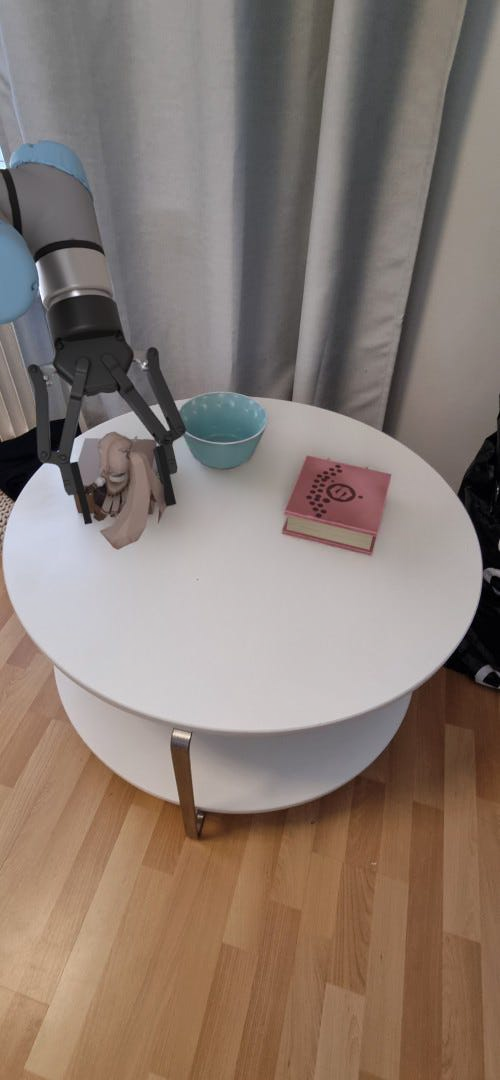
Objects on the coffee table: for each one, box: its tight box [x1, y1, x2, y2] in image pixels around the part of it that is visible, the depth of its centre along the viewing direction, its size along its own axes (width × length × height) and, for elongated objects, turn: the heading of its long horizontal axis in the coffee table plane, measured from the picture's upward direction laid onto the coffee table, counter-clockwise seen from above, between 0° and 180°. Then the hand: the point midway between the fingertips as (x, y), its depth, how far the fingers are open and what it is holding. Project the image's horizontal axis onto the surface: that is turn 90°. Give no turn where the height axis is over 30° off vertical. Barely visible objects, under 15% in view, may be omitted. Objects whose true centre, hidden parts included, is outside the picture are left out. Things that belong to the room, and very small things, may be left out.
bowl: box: [178, 391, 269, 470], centre depth 103 cm, size 16×16×8 cm
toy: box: [85, 431, 168, 551], centre depth 64 cm, size 9×8×15 cm
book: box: [281, 454, 392, 557], centre depth 95 cm, size 14×15×5 cm
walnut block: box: [73, 437, 159, 515], centre depth 96 cm, size 12×12×6 cm
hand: (130, 514), depth 64 cm, fingers closed on toy, 8 cm apart
